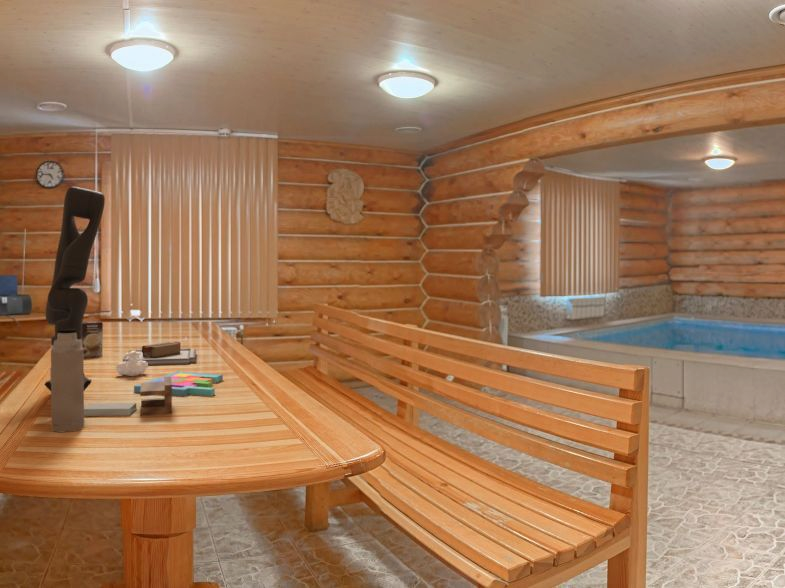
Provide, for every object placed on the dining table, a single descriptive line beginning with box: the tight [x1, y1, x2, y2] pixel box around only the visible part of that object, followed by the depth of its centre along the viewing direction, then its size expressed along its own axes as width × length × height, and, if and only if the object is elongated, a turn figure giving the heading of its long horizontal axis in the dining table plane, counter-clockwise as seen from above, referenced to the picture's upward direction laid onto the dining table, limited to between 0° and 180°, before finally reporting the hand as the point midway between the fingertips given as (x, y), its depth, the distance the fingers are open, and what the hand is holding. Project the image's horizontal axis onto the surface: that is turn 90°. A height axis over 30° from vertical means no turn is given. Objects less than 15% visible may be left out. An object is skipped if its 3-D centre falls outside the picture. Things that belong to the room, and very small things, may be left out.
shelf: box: [139, 377, 173, 416], centre depth 191 cm, size 9×13×9 cm
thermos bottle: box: [50, 329, 85, 432], centre depth 168 cm, size 8×8×28 cm
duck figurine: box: [115, 351, 149, 377], centre depth 242 cm, size 12×8×11 cm
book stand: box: [122, 341, 197, 366], centre depth 280 cm, size 30×30×8 cm
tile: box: [84, 402, 137, 417], centre depth 187 cm, size 14×7×2 cm, turn 98°
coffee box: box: [81, 320, 104, 358], centre depth 283 cm, size 9×6×16 cm
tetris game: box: [133, 371, 224, 397], centre depth 225 cm, size 28×3×28 cm
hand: (68, 411), depth 183 cm, fingers closed
